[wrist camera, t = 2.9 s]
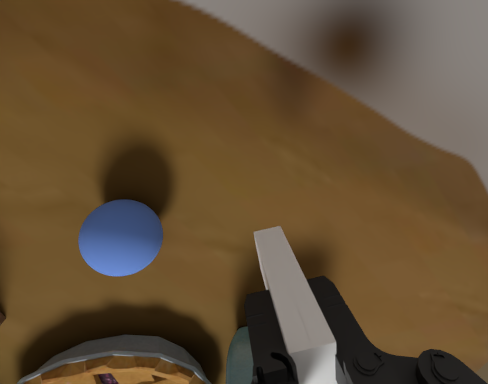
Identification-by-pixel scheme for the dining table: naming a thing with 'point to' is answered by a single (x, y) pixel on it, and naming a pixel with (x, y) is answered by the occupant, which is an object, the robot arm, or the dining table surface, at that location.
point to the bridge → (2, 318)
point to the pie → (121, 363)
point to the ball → (120, 237)
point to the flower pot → (240, 359)
